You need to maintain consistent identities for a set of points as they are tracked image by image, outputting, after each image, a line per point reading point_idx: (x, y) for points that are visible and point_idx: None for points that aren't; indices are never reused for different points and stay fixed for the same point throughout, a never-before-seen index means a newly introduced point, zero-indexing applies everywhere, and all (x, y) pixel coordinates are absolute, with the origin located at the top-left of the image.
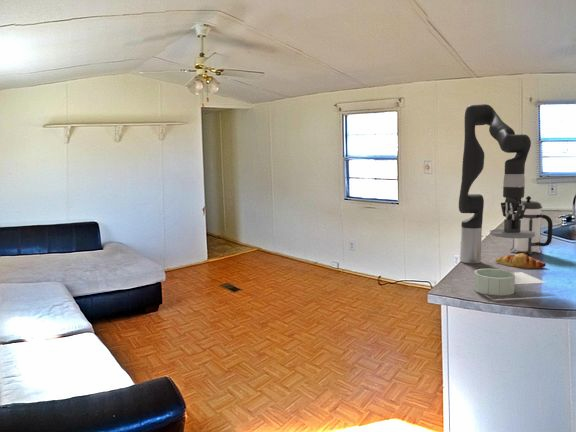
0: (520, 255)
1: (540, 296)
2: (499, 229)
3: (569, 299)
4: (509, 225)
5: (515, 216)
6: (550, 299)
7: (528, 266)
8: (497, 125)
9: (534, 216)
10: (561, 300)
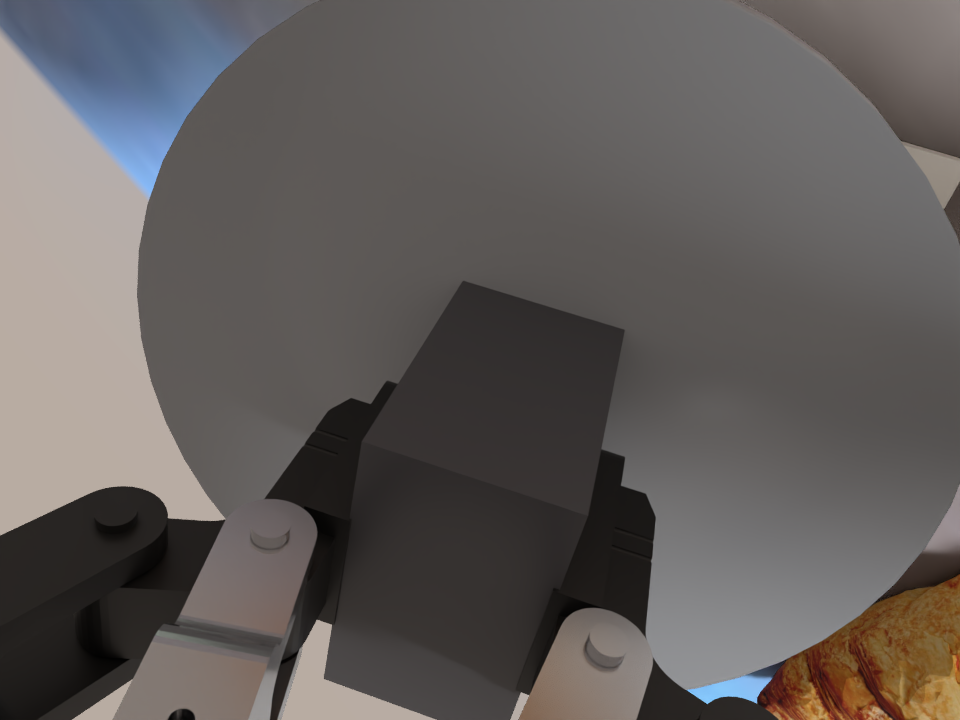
0: (955, 705)
1: (240, 48)
2: (898, 486)
3: (146, 180)
4: (410, 380)
5: (132, 553)
6: (166, 54)
7: (849, 629)
8: None
9: None
10: (135, 109)
